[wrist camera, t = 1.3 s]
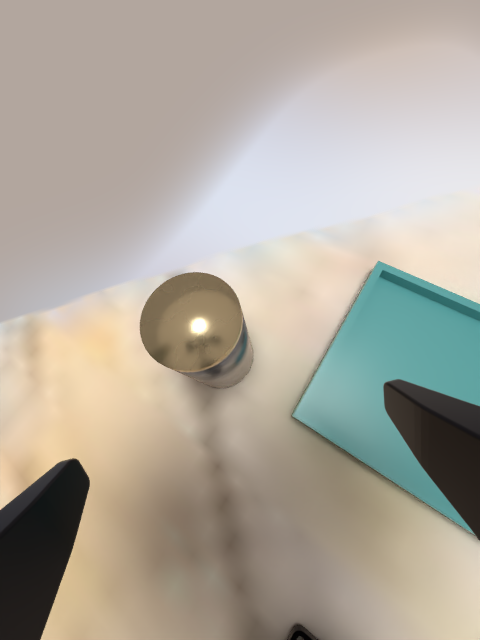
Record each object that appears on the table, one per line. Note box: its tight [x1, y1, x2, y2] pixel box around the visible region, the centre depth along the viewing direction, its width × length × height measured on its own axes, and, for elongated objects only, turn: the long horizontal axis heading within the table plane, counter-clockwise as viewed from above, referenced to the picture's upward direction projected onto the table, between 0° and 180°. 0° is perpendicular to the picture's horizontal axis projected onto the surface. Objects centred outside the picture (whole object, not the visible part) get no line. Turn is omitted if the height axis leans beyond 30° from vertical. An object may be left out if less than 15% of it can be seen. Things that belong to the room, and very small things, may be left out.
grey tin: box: [140, 272, 253, 388], centre depth 17 cm, size 5×5×9 cm
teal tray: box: [291, 261, 480, 537], centre depth 18 cm, size 14×14×2 cm
